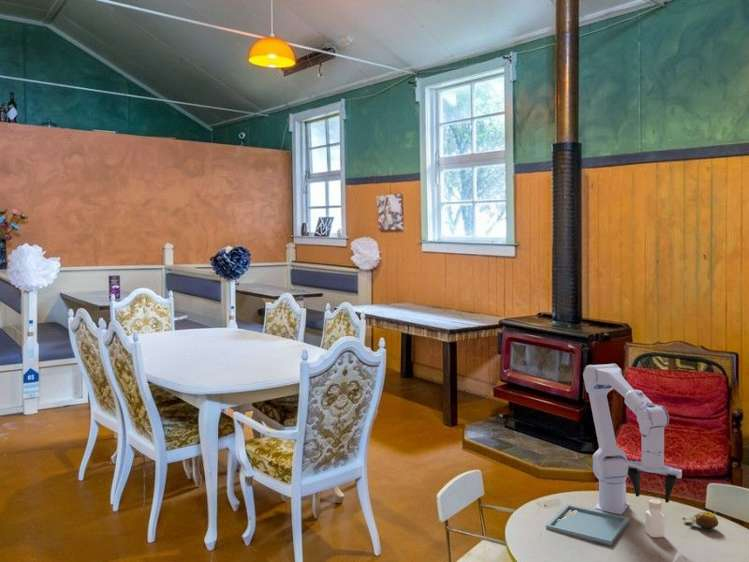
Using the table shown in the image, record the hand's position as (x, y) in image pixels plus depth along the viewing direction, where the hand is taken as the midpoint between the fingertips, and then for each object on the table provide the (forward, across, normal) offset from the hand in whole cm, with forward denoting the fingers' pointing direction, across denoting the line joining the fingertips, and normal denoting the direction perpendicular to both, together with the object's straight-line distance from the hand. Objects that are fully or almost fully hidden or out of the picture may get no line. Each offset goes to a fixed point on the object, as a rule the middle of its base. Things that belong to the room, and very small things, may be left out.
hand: (652, 498), depth 176 cm
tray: (+10, -16, -5) cm, 20 cm away
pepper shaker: (+11, 0, +1) cm, 11 cm away
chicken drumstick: (+12, +7, +16) cm, 21 cm away
